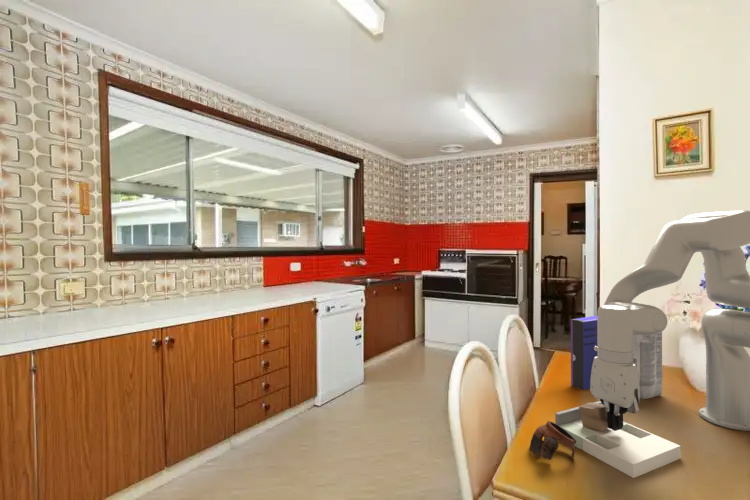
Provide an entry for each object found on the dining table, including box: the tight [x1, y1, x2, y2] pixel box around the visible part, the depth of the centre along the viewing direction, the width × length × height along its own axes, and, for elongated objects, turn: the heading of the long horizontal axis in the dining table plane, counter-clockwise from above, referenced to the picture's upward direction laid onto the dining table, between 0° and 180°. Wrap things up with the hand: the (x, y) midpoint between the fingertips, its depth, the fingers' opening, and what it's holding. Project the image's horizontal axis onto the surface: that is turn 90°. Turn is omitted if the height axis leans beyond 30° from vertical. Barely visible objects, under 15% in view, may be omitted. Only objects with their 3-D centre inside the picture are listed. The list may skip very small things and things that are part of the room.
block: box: [578, 402, 608, 431], centre depth 97 cm, size 5×5×5 cm
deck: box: [554, 400, 682, 479], centre depth 93 cm, size 20×18×6 cm
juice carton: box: [633, 331, 663, 400], centre depth 125 cm, size 9×10×27 cm
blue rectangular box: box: [570, 315, 598, 391], centre depth 134 cm, size 17×5×24 cm, turn 115°
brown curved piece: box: [529, 420, 576, 460], centre depth 89 cm, size 12×10×8 cm
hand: (615, 428), depth 93 cm, fingers closed
